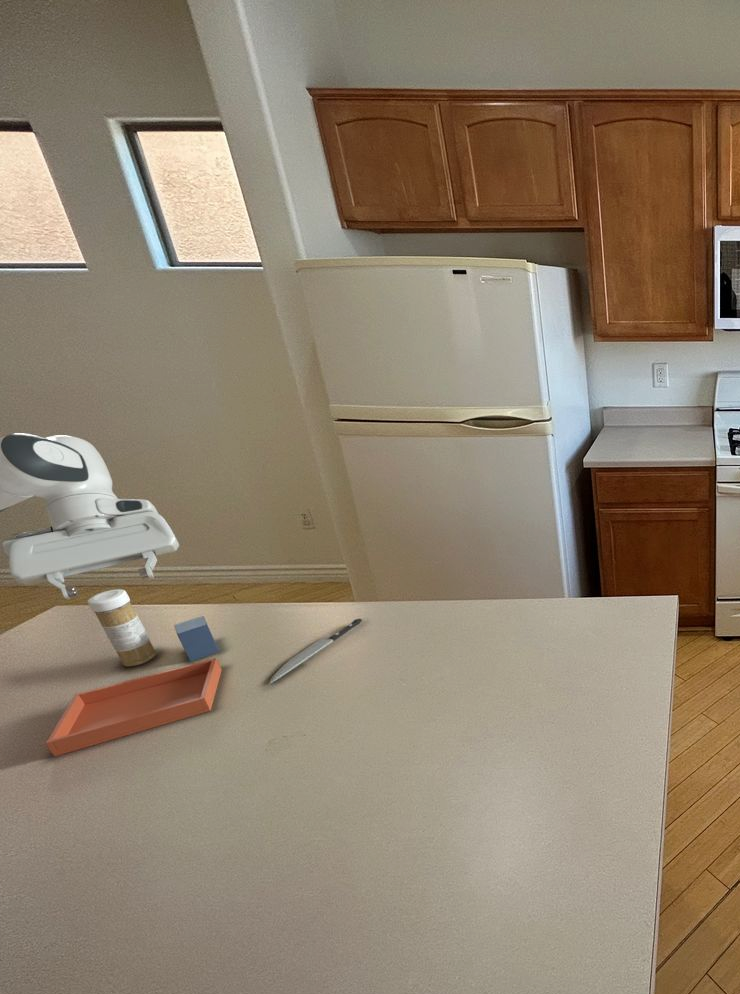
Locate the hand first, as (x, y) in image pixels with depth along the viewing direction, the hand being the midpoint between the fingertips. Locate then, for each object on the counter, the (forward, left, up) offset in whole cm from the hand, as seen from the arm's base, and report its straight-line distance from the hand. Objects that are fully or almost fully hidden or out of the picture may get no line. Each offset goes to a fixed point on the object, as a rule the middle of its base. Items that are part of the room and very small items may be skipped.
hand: (111, 587), depth 97 cm
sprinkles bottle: (+1, -6, -12) cm, 14 cm away
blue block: (+10, -9, -12) cm, 18 cm away
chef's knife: (+27, -19, -12) cm, 35 cm away
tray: (+5, -23, -12) cm, 26 cm away
